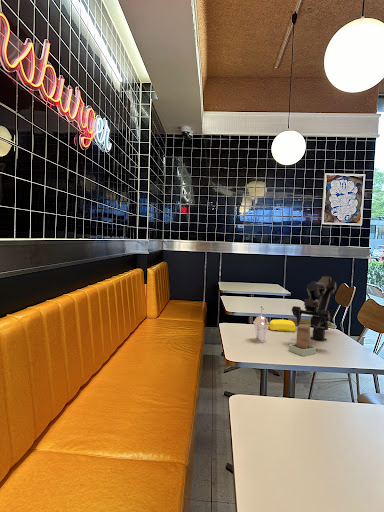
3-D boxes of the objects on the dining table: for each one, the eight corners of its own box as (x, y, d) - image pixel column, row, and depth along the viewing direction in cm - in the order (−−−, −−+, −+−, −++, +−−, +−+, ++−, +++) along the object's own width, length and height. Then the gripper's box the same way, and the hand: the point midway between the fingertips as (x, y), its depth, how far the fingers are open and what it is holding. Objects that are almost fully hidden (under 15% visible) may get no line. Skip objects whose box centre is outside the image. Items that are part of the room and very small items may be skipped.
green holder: (301, 348, 177) (301, 342, 177) (315, 353, 169) (316, 347, 169) (288, 350, 172) (288, 344, 172) (303, 356, 165) (303, 350, 164)
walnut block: (298, 349, 174) (300, 324, 174) (308, 352, 172) (310, 326, 171) (295, 352, 170) (297, 326, 170) (305, 354, 168) (307, 328, 167)
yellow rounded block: (298, 333, 209) (295, 330, 217) (299, 322, 209) (295, 319, 216) (268, 331, 210) (266, 328, 217) (269, 320, 209) (267, 317, 217)
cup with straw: (270, 341, 187) (273, 305, 187) (262, 344, 181) (264, 307, 180) (257, 337, 193) (259, 302, 192) (248, 340, 186) (250, 304, 186)
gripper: (293, 291, 184) (285, 314, 175) (330, 295, 173) (323, 320, 165) (297, 303, 191) (289, 326, 182) (332, 308, 180) (326, 333, 172)
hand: (306, 326), depth 175 cm, fingers open, 9 cm apart
